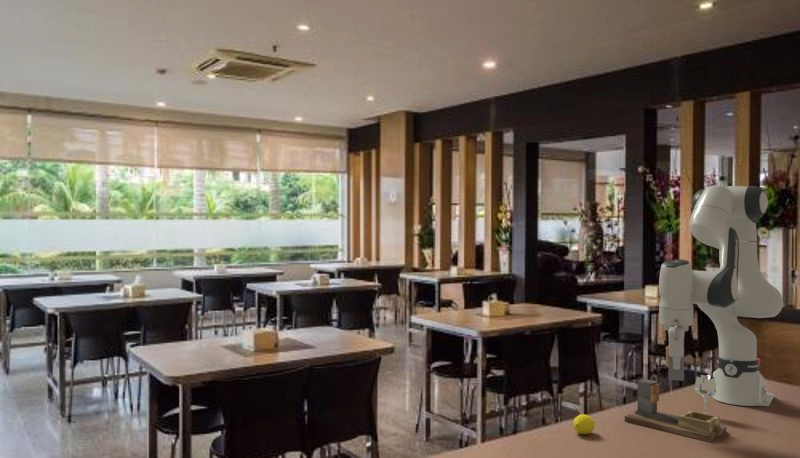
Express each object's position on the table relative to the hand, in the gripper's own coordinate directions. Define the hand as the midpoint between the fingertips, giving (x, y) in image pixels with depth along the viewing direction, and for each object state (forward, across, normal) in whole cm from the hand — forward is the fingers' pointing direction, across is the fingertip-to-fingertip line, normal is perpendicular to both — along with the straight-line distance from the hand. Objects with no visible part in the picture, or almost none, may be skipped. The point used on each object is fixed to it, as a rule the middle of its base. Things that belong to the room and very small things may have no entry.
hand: (676, 366), depth 175 cm
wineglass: (+19, +19, -8) cm, 28 cm away
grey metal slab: (+3, 0, 0) cm, 3 cm away
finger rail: (+18, +4, +1) cm, 19 cm away
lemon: (+18, -13, +24) cm, 33 cm away
